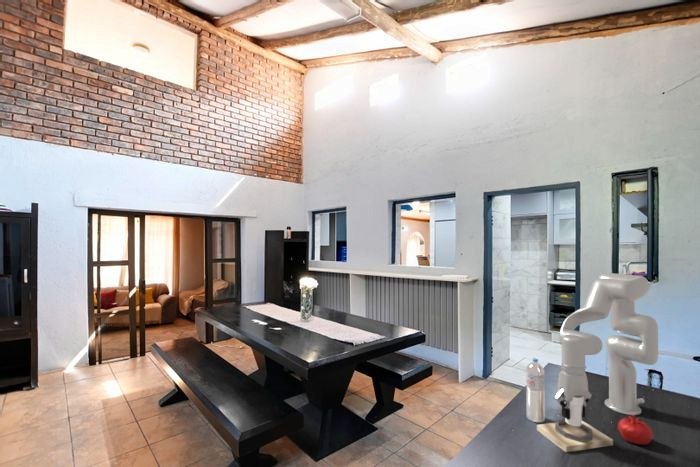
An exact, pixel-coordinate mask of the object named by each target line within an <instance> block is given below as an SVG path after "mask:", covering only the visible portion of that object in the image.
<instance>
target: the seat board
mask: <svg viewBox="0 0 700 467" xmlns="http://www.w3.org/2000/svg"><path fill="white" fill-rule="evenodd" d="M536 431H537V432H539V433H540V434H541V435H543V436H544V437H545V438H547V439H548V440H549V441H551V442H552V443H553V444H554V445H555V446H557V447H558V448H560V450H562V451H563V452H565V453H570V452H577V451H585V450H591V449H597V448H598V449H599V448H604V447H610V446H614V439H613V438H611V437H609V436H607V435H606V434H605V433H603V432H601V431H600V430H598V429H596V428H595V427H593V426H592V425H591V424H588V423H587V422H585V421H583V420H582V425H581V426H580V427H579V426H572V425H569V424H568V423H567V422H565V418H564V419H558V420H555V422H547V423H539V424H537V425H536Z"/></svg>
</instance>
